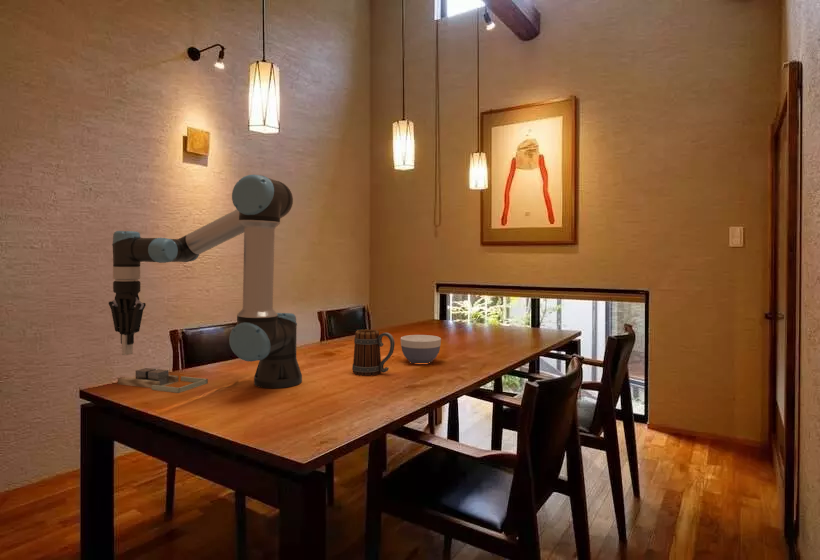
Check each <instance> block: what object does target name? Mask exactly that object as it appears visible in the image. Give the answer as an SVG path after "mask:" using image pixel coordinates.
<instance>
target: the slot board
mask: <svg viewBox="0 0 820 560" xmlns="http://www.w3.org/2000/svg"><path fill="white" fill-rule="evenodd" d="M179 377H180V376H179V375H174V374H169V383H167V384H163V385H160V381H152V380H143V379H136V378H134V377H133V378H132V377H125V376H124V377H123V376H122V377H121V376H120V377H118V378H117V385H123V386H131V387H139V388H146V389H147V388H148V389H152V385H159V386H169V385H172V384H175V383H178V382H179Z"/></svg>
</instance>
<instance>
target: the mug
mask: <svg viewBox="0 0 820 560" xmlns="http://www.w3.org/2000/svg"><path fill="white" fill-rule="evenodd" d="M383 337H386V338H388V340H389V343H390V345H389V351H388V353H387V355H386V356H385V357H384V358H383V359H382V357H381V347H383V346H384V343H383ZM353 341H354V349H353V361H352V369H351V370H352V373H353V374H354V375H356V376H360V375H362V376H361V377H369V376H370V377H371V375H373V376H378V375H380V374H381V373H386V372H388V371H389V367H388V366H386V367H384V366H385V364H386V362H387V361H388V360H389V359H390V358H391V357H392V355H393V354H394V351H395V339H394V336H393V335H392V334H391V333H389V332H382V333H380V332H379V330H377V329H357V330H356V331H355V335H354V340H353ZM379 373H380V374H379ZM377 374H378V375H377Z"/></svg>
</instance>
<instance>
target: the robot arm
mask: <svg viewBox="0 0 820 560" xmlns="http://www.w3.org/2000/svg"><path fill="white" fill-rule="evenodd" d="M231 200H232V205H233V206H234V207H235V208H236V209H234V210H233V211H230V212H229V213H227V214H225V215H223V216H221V217H219V218H217V219H215V220H213V221H211V222H209V223H207V224H205V225H203V226H201V227H199V228H197V229H195V230H193V231H191V232H189V233H188V234H186V235H184V236H182V237H180V238H165V237H141V233H140V231H132V230H131V231H130V230H116V231H114V232H113V233H112V234H113V235H112V244H111V246H112V279H113V280H114V281H113V282H112V292H113V293H114V294H115V296H114V300H113V299H112V300H111V301H108V305H109V308H110V310H111V317H112V321H113V328H114V331H115V332H116V333H117V332H118V333H119V335H120V344H121V355H122V356H129V355H133V353H134V351H133V350H134V349H133V348H134V347H133V345H134V344H135V338H134V337H135V336H134V335H135V334H136V333H139V332H140V329H141V324H142V319H143V314H144V310H145V308H146V306H147V305H146V304H147V303H145V302H141V301H140V296H139V293H141V263H142V262H143V263H144V262H146V263H158V264H159V263H160V264H165V263H189V262H194V261H196V260H197V259H198V257H200V255H201V254H203V253H205V252H208V250H212V249H213V248H215V247H217V246H220V245H221V244H223V243H225V242H227V241H229V240H231V239H233V238H236V237H238V236H240V235H242V234H243V271H242V273H243V274H242V275H243V277H242V278H243V279H242V280H243V281H242V282H243V283H242V308H241V310H240V311H238V313H237V314H236V325H234V327H233V328H232V329H231V331H230V333H229V337H228V339H229V340H228V341H229V347H230V349H231V351H232V353H234V355H235V356H236V357H238V359H240V360H242V361H244V362H255V361H256V362H257V361H258V364H257V367H256V370H255V373H254V377H253V384H254V386H255V387H258V388H263V389H283V388H289V387H295V386H297V385H300V384H301V383H302V382H303V375H302V374H303V373H302V371H301V369H300V365H299V363H298V360H297V358H298V357H297V326H298V323H297V316H296V315H295V314H294V313H292V312H291V313H289V312H276V311H275V310H274V308H273V307H274V297H273V296H274V268H275V267H274V266H275V264H274V263H275V233H276V232H275V230H276V228H277V227H278V226H279V225H280V224H281V219H282V218H284V217H285V216H287V215H288V214H289V213H290V211H291V209H292V208H293V204H294V197H293V193H292V191H291V189H290V188H289V187H288V186H287V185H286V184H285V183H284V182H281V181H279V180H275V179H272V178H269V177H268V176H265V175H261V174H248V175H245V176H242V178H240V179H239V180H238V181H237V182H236V183H235V185H234V186H233V189H232V193H231Z"/></svg>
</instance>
